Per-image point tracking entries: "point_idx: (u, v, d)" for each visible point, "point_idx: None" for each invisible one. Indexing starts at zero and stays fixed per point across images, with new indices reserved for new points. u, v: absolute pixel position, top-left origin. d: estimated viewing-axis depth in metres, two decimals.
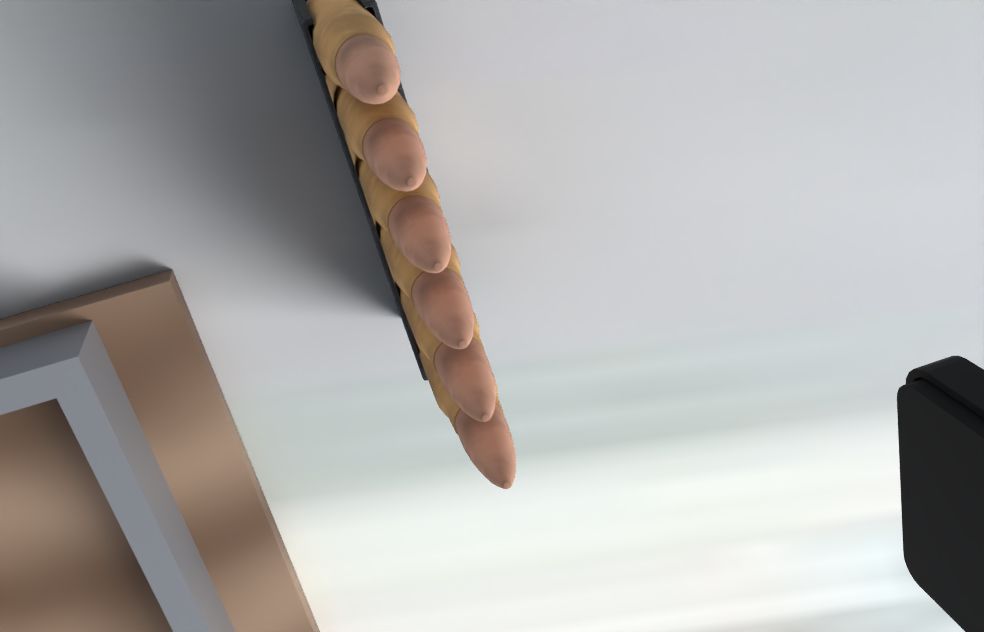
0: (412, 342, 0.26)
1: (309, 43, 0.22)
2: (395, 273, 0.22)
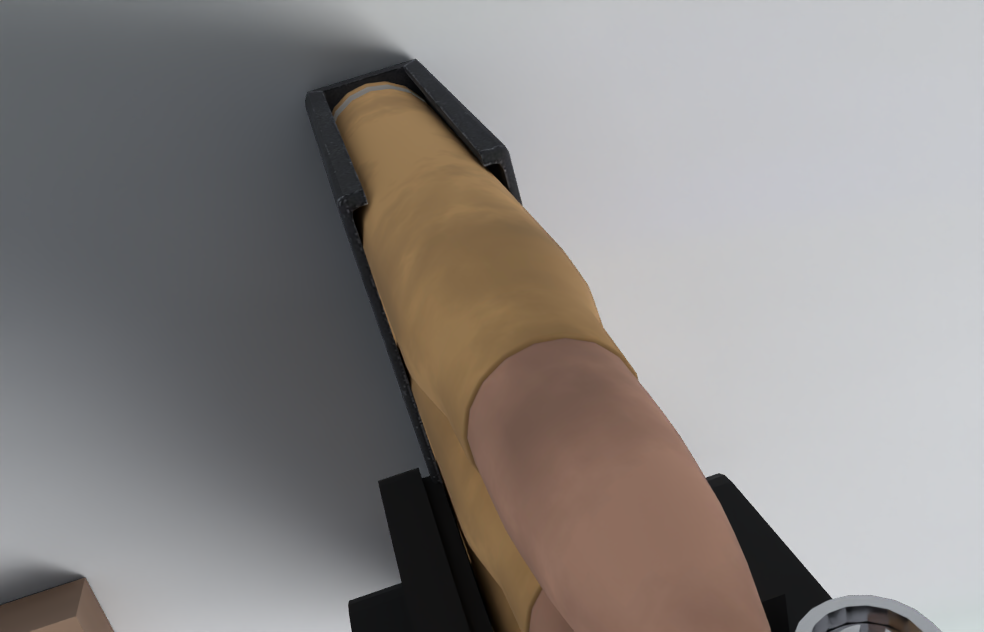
0: None
1: (355, 247, 0.10)
2: None
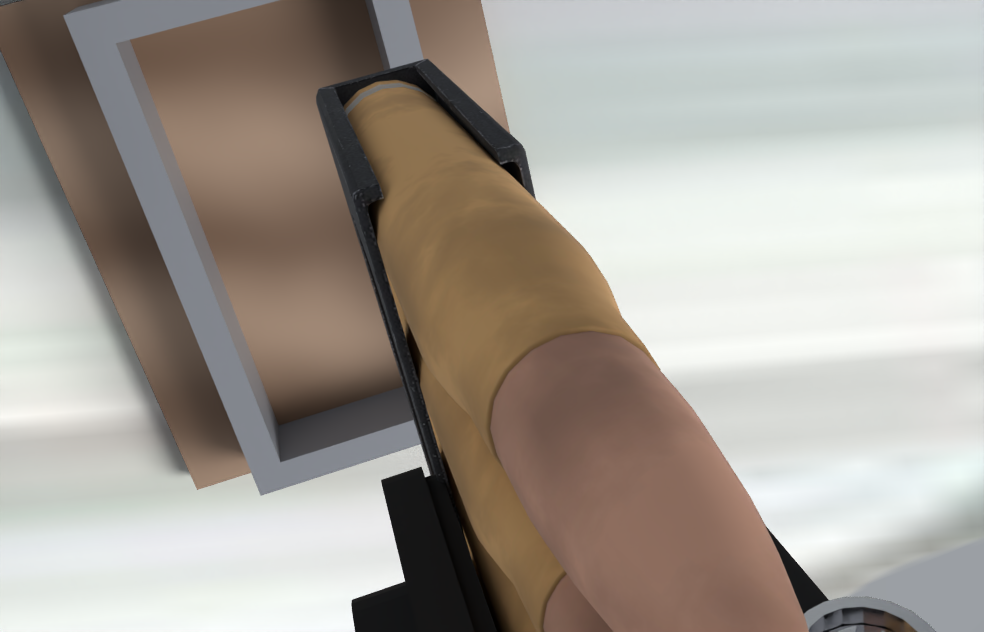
0: None
1: (369, 241, 0.10)
2: None
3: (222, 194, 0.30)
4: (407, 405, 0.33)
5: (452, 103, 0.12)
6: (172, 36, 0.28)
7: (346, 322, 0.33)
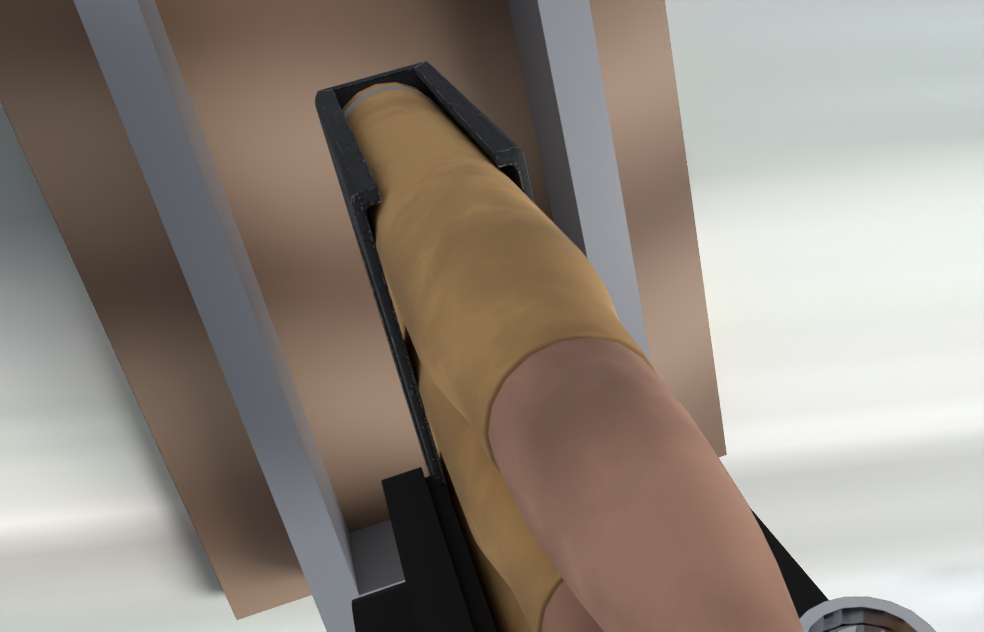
0: None
1: (367, 244, 0.10)
2: None
3: (281, 218, 0.21)
4: None
5: (451, 106, 0.12)
6: None
7: None
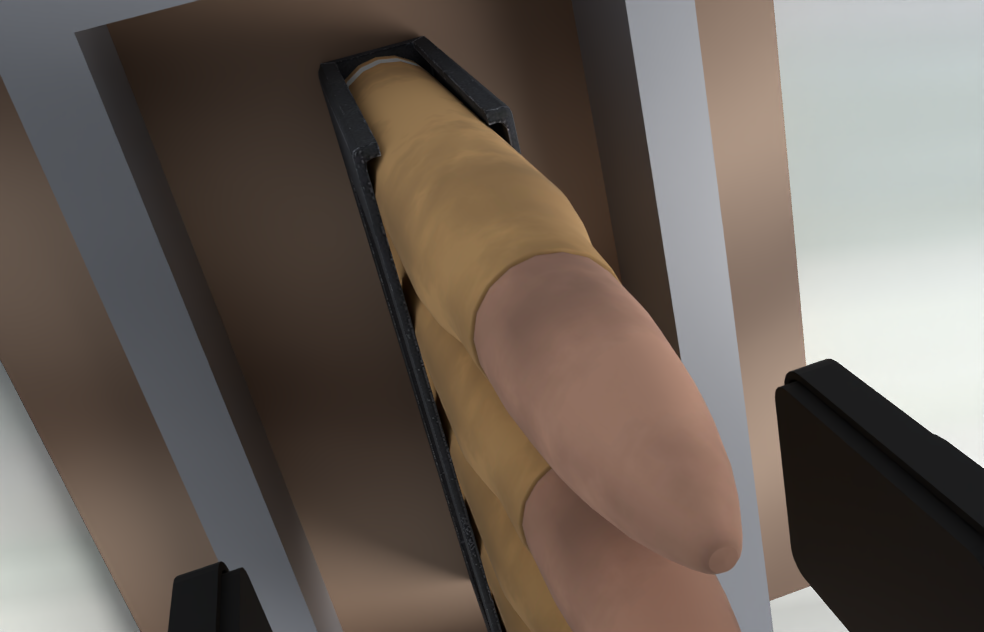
0: None
1: (367, 195, 0.10)
2: None
3: (282, 318, 0.16)
4: None
5: (446, 73, 0.12)
6: (193, 22, 0.14)
7: None
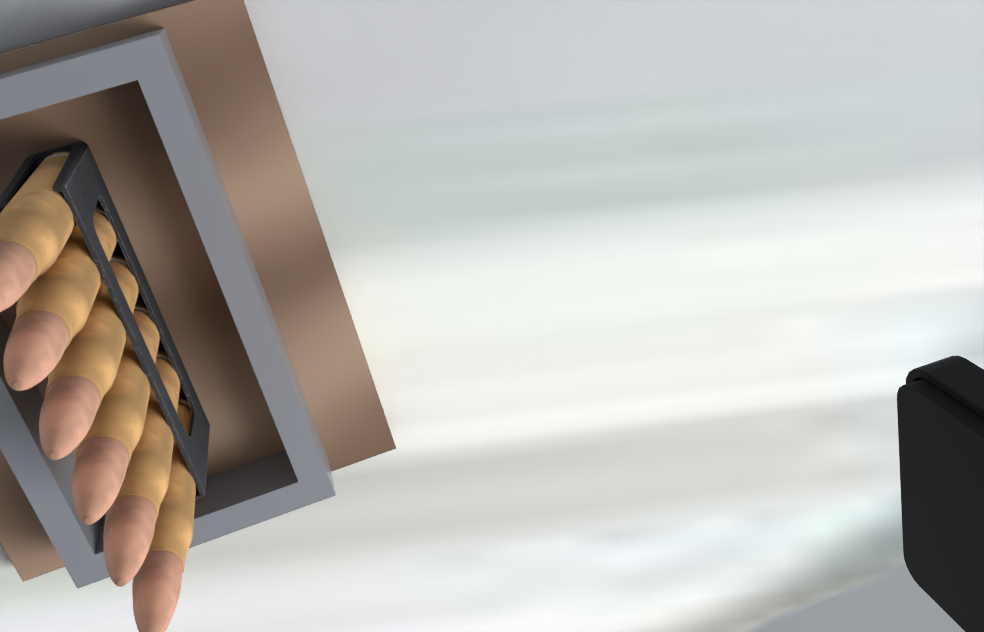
0: None
1: None
2: None
3: None
4: (229, 490, 0.33)
5: (63, 165, 0.26)
6: None
7: None
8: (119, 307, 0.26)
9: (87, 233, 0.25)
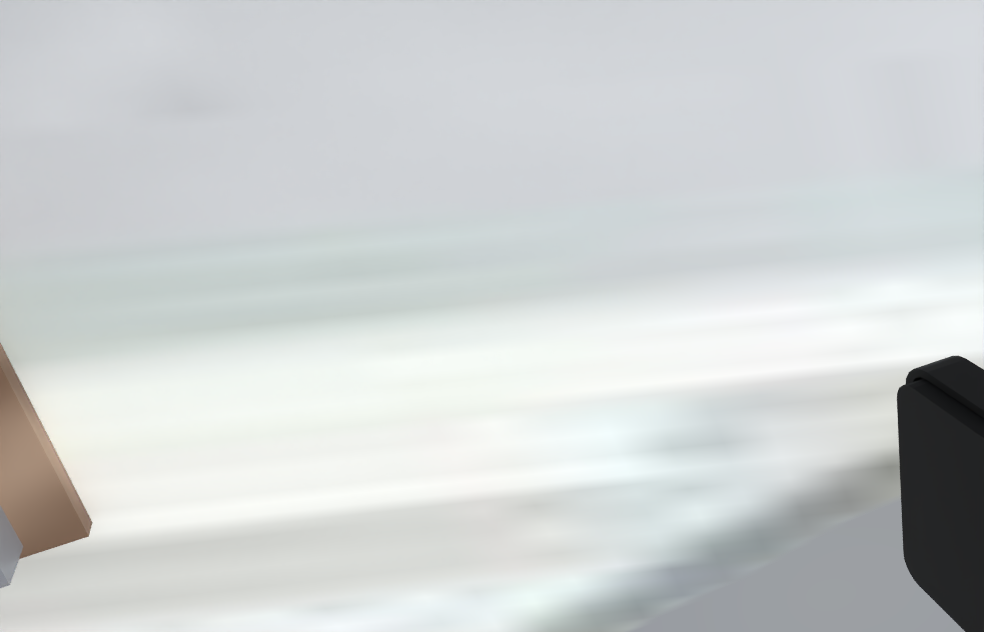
0: None
1: None
2: None
3: None
4: None
5: None
6: None
7: None
8: None
9: None
